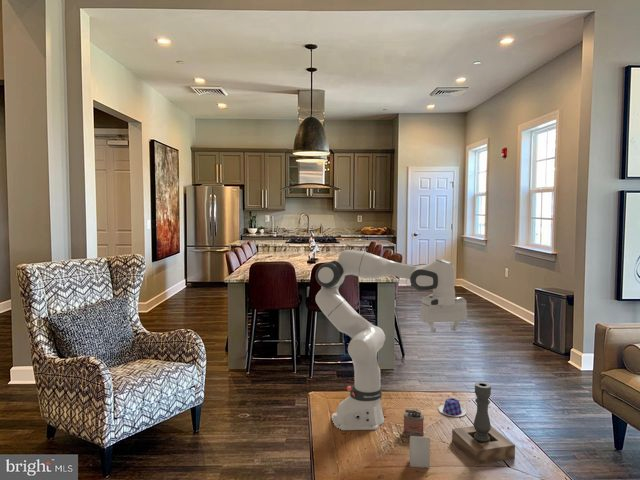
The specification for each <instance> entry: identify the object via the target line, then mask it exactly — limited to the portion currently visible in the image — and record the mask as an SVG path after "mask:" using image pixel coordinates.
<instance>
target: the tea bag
mask: <svg viewBox="0 0 640 480" xmlns="http://www.w3.org/2000/svg"><path fill="white" fill-rule="evenodd" d="M430 439H431V438H430V436H428V437H427V436H412V435H409V467H413V468H414V467H415V468H424V467H427V469H430V468H431V449H430V448H431V447H430V446H431V445H430V443H431V441H430Z"/></svg>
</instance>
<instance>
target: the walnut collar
mask: <svg viewBox="0 0 640 480" xmlns="http://www.w3.org/2000/svg"><path fill="white" fill-rule="evenodd" d="M475 433H476V430H475V428H474V425H471V426H465V427H463V426H462V427H455V428H452V429H451V434H452V435H451V441H452V443H453V444H454V445H455V446H456V447H457V448H458V449H459V450H460V451H461V452H462V453H463V454H464V455H465V456H466V457H467V458H468V459H469V460H470V461H471V462H472V463H473V464H474V465H480V464H481V465H482V464H488V463H493V462H500V461H505V460H507V461H508V460H513V459H515V458H516V444H515V443H513V442H512V441H511V440H509V438H507V437H506V436H504V435H503V434H502V433H501V432H500V431H498V430H497V429H496V428H495V427H493V426H492V425H491V429H490V431H489V432H488V436H489V437H490V442H487V443H480V444H479V443H478V442H477V441H476V440H475V439H474V434H475Z"/></svg>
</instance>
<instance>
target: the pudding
mask: <svg viewBox="0 0 640 480" xmlns="http://www.w3.org/2000/svg"><path fill="white" fill-rule="evenodd" d="M438 411H439V412H440V413H441V414H442V415H444V416H445V415H446V416H448V417H449V416H450V417H453V418H454V417H457V418H458V417H463V416H465V415H466V414H467V410H466V409H465V408H464V407H462V406H461V403H460V401H459V400H458V399H456V398H454V397H453V398H452V397H449V398H446V399H445V401H444V404H442V405H439V406H438Z"/></svg>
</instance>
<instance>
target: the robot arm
mask: <svg viewBox="0 0 640 480" xmlns="http://www.w3.org/2000/svg"><path fill="white" fill-rule="evenodd" d="M347 276H356V277H360V278H364V279H370V280H371V279H373V280H375V279H379V278H383V277H387V276H389V277H396V278H397V277H399V278H402V279H407V280H409V282H410V285H411V287H413V288H414V289H415V290H416V291H420V292H421V291H422V292H423V291H430V290H431V291H432V293H430V294H429V295H426V296H423V297H422V298H421V302H422V304H420V308H419V320H420V321H421V322H422V323H425V324H428V326H429V328H430V333H432V334H433V333H434V334H435V333H437V332H436V330H437V328H435V327H434V326H433V325H434V323H441V322H453V325H452V326H450V328H451V329H450V330H451V331H452V332H456V331H457V328H458V326H459V324H460V321H466V320H467V318H468V309H467V300H466V298H464V297H456V290H455V284H456V269H455V266H454V264H453V263H452V261H449V260H446V259H435V260H434V261H432V262H431V263H421V264H407V263H403V262H399V261H393V260H389V259H388V258H385V257H382V256H379V255H376V254H373V253H370V252H367V251H362V250H355V249H344V250H342V251H341V252H340V253H339V255H338V256H337V260H332V261H329V262H328V261H327V262H325V263H323V264H321V265H319V266H318V268H317V269H316V270H315V280H316V282H317V283H318V285H320V286H321V287H320V290H319V291H318V292H317V293H316V295H315V303H316V304H317V306H318V307H319V309H320V311H321V312H322V313H323V315H324V316H325V317H326V319H328V320H329V322H330V323H331V324H332V325H333V326H334V327H335V328H336V330H338V332H341V333H342V334H345V335H346V336H348V337H350V339H351V340H350V341H349V343H348V346H347V353H348V355H349V357H350V358H351V360H352V364H353V369H354V370H353V371H354V376H353V377H354V385H353V386H352V387H351V385H348V386H346V390H347V392H348V393H349V395H348V396H347V397H346V398H345V399H343V400H342V401H341V402H339V403H338V404H337V409H336V412H334V413H332V415H331V421H333V422H332V424H333V423H334V424H333V425H334V427H336V429H338V428H339V429H338V430H340V429H341V430H340V431H369V430H371V431H372V430H375V431H376V430H377V429H378V428H379V426H380V425H382V424H383V423H384V422H385V417H384V414H383V408H382V393H383V392H382V386H381V368H380V366H379V363H378V360H377V357H378V356H377V355H378V352H379V351H380V350H381V349H382V348H383V346H384V344H385V341H386V334H385V332H384V330H383V329H382V328H381V327H379V326H377V325H374V324H373V323H371V322H370V321H368V319H366V318H364V317H363V316H362V315H360V314H359V313H358V312H357V311H356V309H354V308H353V307H352V305H350V304H349V302H347V301H346V299H345V298H344V296H342V294H340V290H341V288H342V286H343V285H344V283H345V282H346V281H345V280H346V277H347Z"/></svg>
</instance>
